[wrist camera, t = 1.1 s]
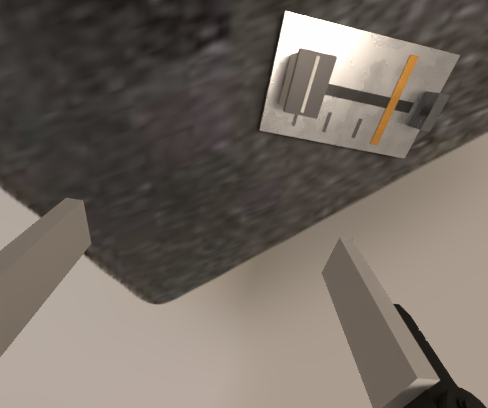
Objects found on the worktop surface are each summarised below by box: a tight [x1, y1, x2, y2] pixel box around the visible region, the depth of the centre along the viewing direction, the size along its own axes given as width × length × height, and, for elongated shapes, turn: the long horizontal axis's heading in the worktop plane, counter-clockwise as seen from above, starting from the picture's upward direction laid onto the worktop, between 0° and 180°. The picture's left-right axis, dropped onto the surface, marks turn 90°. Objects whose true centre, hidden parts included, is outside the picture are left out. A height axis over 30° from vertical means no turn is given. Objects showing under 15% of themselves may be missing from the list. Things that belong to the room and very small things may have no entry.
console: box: [259, 11, 460, 158], centre depth 28 cm, size 12×20×4 cm, turn 79°
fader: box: [279, 48, 337, 119], centre depth 25 cm, size 5×3×5 cm, turn 169°
